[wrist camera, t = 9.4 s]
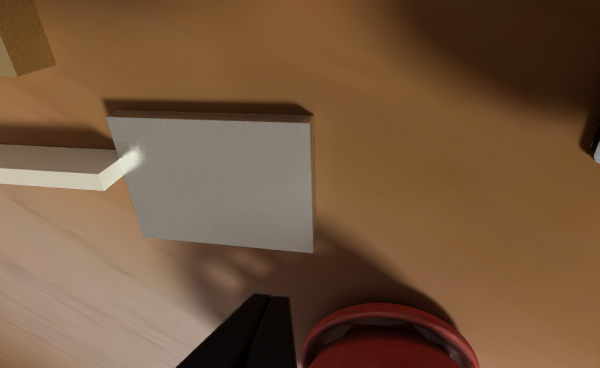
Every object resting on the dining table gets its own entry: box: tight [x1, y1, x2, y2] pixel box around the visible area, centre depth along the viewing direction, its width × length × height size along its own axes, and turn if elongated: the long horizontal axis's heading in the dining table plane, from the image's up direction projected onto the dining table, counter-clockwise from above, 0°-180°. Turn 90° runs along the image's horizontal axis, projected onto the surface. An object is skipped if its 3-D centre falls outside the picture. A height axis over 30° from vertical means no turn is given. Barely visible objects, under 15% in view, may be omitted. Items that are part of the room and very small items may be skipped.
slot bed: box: [106, 110, 316, 253], centre depth 17 cm, size 11×25×1 cm, turn 2°
